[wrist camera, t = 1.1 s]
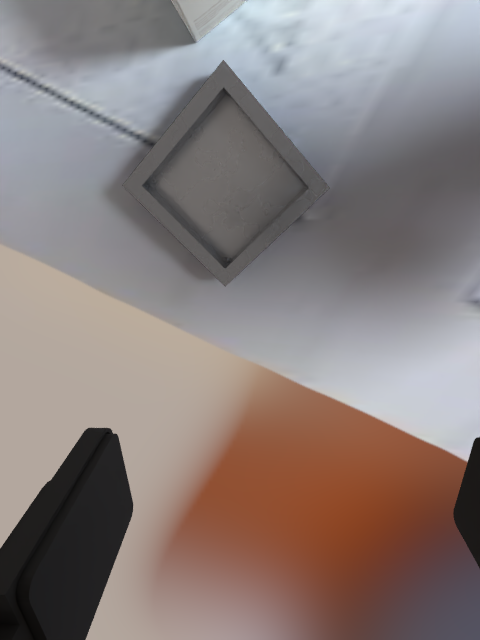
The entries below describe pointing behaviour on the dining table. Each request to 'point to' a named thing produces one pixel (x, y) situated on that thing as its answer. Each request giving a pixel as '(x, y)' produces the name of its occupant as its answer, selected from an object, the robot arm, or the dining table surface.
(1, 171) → the dining table surface
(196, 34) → the supplement box
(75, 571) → the robot arm
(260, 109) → the locating frame
